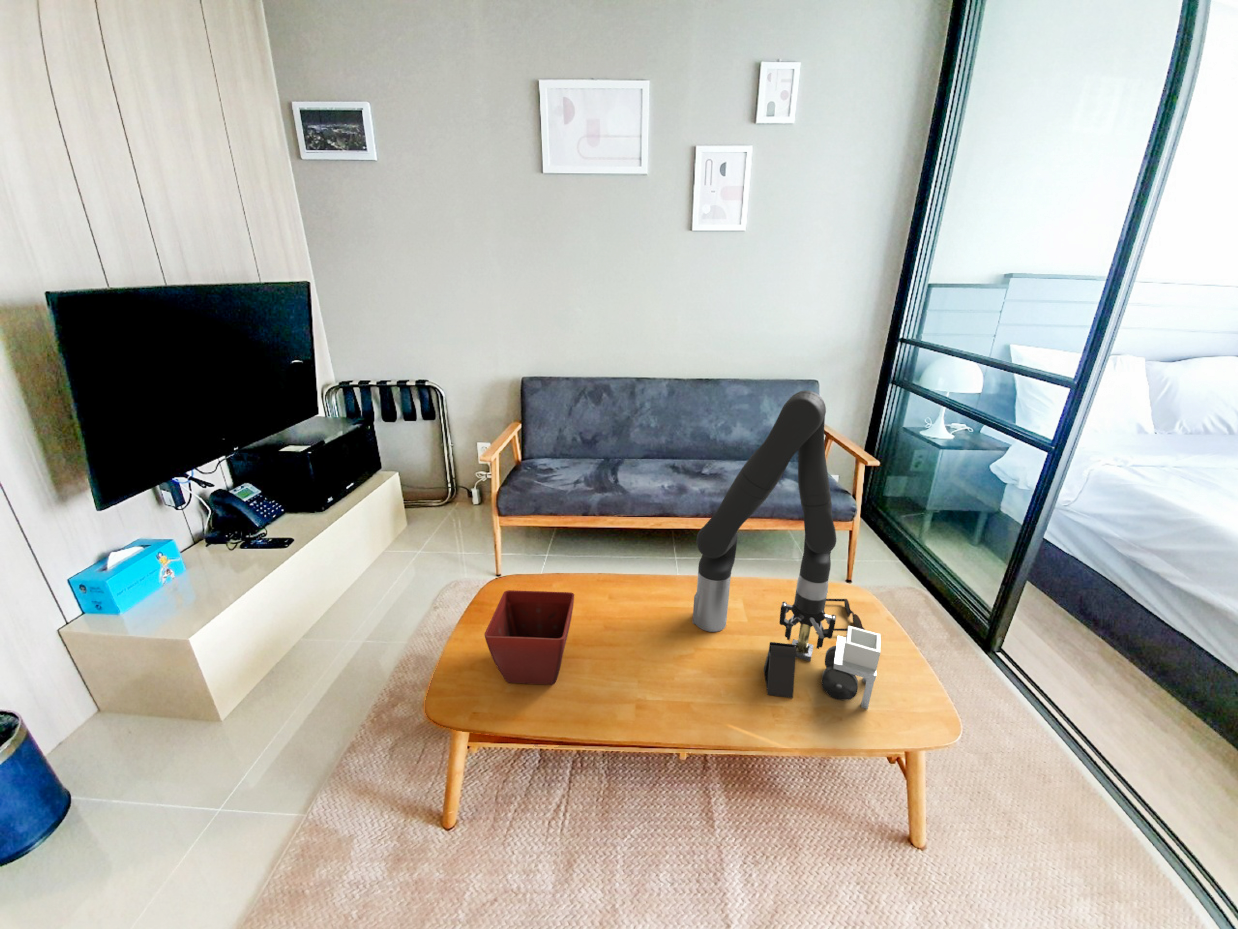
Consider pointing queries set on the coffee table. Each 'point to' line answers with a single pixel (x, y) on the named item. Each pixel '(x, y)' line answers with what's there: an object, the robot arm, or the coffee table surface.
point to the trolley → (845, 675)
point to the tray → (862, 647)
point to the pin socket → (804, 655)
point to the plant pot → (530, 635)
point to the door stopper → (780, 669)
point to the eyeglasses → (855, 617)
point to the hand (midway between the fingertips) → (803, 642)
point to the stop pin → (803, 638)
